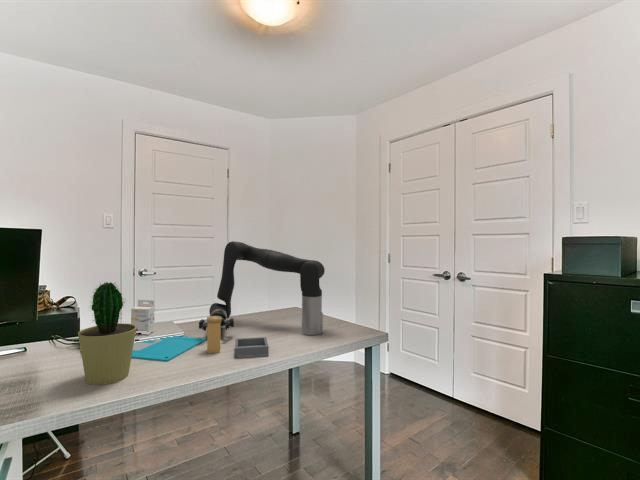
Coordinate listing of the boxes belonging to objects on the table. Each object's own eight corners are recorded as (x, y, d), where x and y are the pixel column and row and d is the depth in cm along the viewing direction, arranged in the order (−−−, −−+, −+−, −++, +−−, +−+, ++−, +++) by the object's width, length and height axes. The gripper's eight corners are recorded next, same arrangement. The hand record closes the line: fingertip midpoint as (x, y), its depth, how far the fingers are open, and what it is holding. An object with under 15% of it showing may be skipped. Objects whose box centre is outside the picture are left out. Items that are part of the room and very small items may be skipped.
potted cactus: (142, 378, 104) (143, 280, 104) (82, 393, 94) (83, 285, 93) (129, 364, 115) (130, 276, 115) (73, 376, 105) (74, 279, 105)
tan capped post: (221, 348, 133) (221, 315, 133) (220, 352, 128) (221, 318, 128) (207, 348, 132) (207, 316, 132) (205, 353, 127) (206, 319, 127)
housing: (265, 345, 136) (266, 337, 136) (268, 355, 125) (268, 346, 125) (235, 347, 134) (235, 338, 134) (235, 358, 122) (235, 348, 122)
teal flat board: (167, 362, 118) (167, 359, 118) (99, 356, 124) (99, 353, 124) (207, 340, 144) (207, 338, 144) (149, 336, 149) (149, 333, 149)
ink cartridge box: (130, 334, 150) (130, 301, 150) (137, 331, 155) (137, 299, 155) (148, 335, 150) (148, 301, 149) (154, 332, 154) (155, 299, 154)
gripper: (201, 310, 153) (197, 319, 137) (234, 309, 156) (233, 317, 140) (201, 327, 153) (197, 337, 137) (234, 325, 156) (233, 335, 140)
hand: (215, 327), depth 139 cm, fingers open, 8 cm apart
